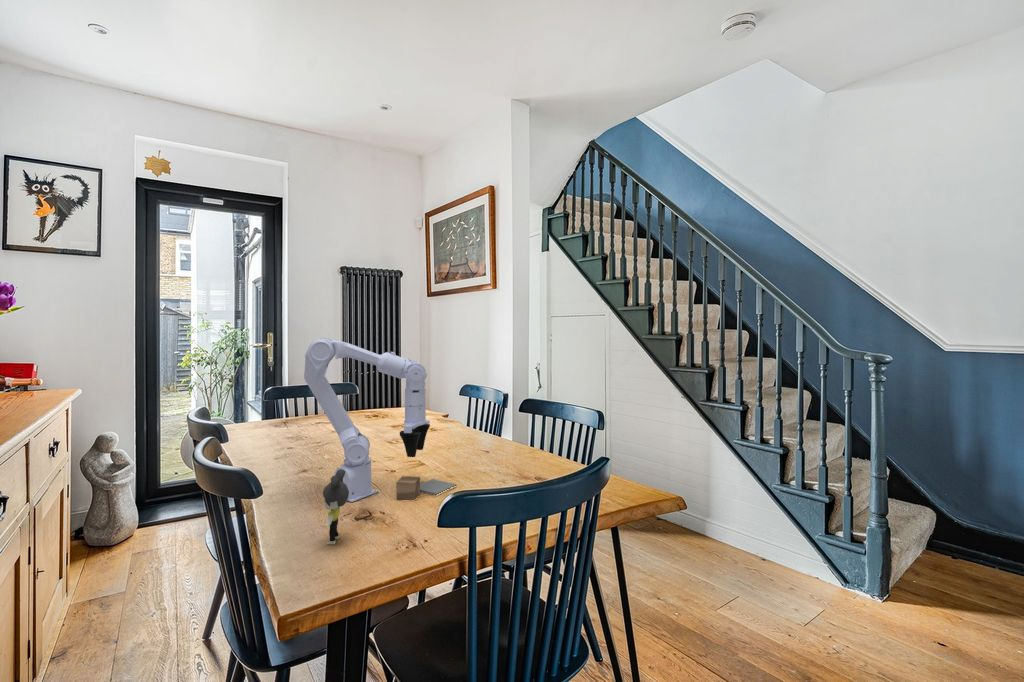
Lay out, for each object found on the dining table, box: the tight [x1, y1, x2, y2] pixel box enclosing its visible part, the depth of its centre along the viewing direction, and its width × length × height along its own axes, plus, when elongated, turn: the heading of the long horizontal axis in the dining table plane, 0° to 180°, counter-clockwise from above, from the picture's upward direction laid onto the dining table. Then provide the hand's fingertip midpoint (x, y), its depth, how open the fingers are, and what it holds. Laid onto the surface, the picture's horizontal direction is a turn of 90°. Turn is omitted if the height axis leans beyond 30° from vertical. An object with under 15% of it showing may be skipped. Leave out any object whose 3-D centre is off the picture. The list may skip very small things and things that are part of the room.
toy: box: [322, 469, 349, 545], centre depth 108 cm, size 8×5×15 cm, turn 4°
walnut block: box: [395, 475, 421, 501], centre depth 135 cm, size 5×5×5 cm
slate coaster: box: [420, 478, 458, 496], centre depth 142 cm, size 9×9×1 cm
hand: (415, 453), depth 141 cm, fingers open, 7 cm apart
